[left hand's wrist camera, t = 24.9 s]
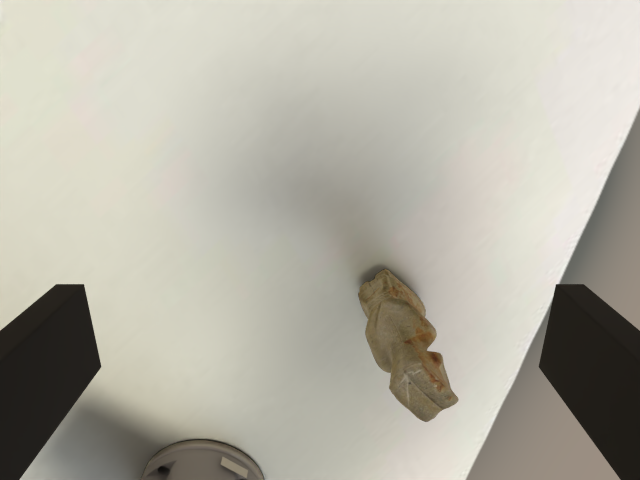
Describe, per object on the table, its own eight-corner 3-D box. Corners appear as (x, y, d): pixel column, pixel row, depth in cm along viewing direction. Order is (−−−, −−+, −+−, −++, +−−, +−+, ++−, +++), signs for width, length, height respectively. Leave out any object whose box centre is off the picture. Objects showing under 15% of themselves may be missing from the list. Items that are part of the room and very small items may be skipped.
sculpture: (385, 332, 48) (412, 441, 34) (345, 284, 46) (356, 379, 32) (431, 303, 47) (478, 403, 33) (392, 252, 45) (424, 337, 31)
